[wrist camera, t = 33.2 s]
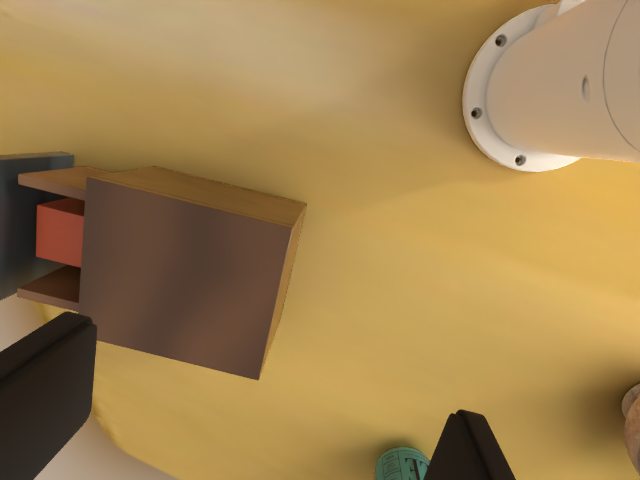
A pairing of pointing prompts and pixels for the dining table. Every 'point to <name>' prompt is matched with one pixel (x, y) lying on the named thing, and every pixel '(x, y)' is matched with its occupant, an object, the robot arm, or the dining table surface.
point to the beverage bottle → (401, 464)
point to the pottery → (632, 424)
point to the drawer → (21, 223)
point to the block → (60, 231)
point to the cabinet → (187, 266)
